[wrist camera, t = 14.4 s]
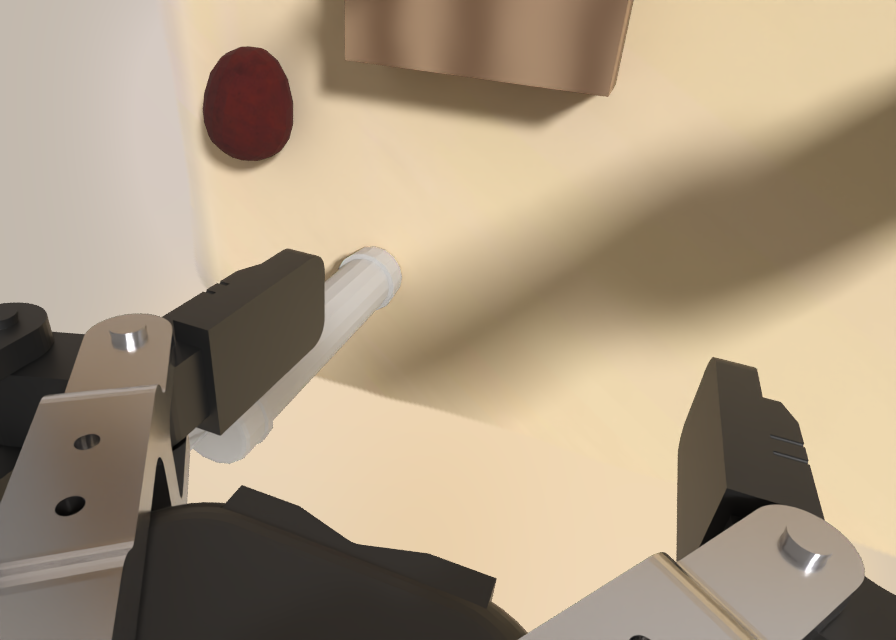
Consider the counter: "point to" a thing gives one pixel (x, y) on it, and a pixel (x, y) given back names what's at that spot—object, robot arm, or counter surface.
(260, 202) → the counter surface
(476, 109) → the counter surface
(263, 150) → the potato
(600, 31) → the walnut socket block
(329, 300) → the pipe
